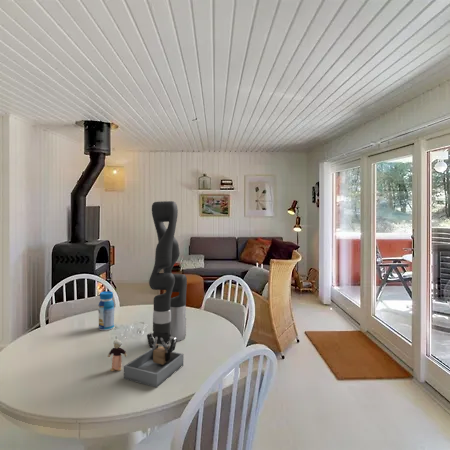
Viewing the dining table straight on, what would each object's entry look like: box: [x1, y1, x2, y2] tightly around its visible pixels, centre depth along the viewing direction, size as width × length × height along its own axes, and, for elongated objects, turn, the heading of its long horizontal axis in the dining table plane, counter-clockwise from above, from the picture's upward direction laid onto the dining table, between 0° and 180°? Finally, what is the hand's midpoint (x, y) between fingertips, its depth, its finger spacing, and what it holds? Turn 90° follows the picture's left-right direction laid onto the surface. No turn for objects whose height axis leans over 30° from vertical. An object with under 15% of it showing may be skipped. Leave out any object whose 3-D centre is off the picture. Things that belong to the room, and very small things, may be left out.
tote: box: [123, 348, 184, 388], centre depth 138 cm, size 20×16×5 cm
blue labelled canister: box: [97, 290, 115, 331], centre depth 186 cm, size 8×8×20 cm
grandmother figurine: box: [107, 338, 128, 372], centre depth 139 cm, size 8×4×13 cm, turn 105°
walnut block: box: [153, 345, 170, 365], centre depth 143 cm, size 5×5×5 cm
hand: (161, 359), depth 143 cm, fingers closed on walnut block, 5 cm apart
